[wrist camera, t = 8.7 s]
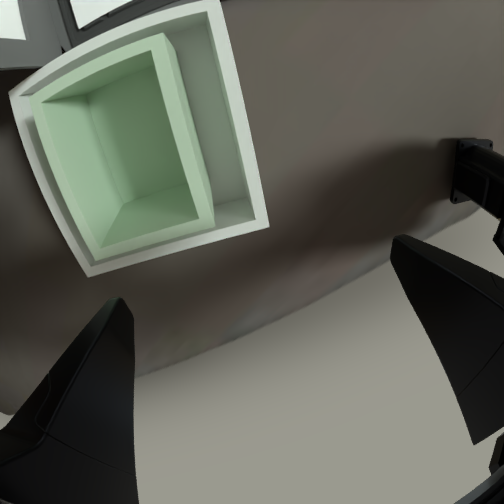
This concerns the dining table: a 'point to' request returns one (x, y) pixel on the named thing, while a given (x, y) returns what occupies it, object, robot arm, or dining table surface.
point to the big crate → (205, 118)
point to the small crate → (126, 148)
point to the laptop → (62, 26)
